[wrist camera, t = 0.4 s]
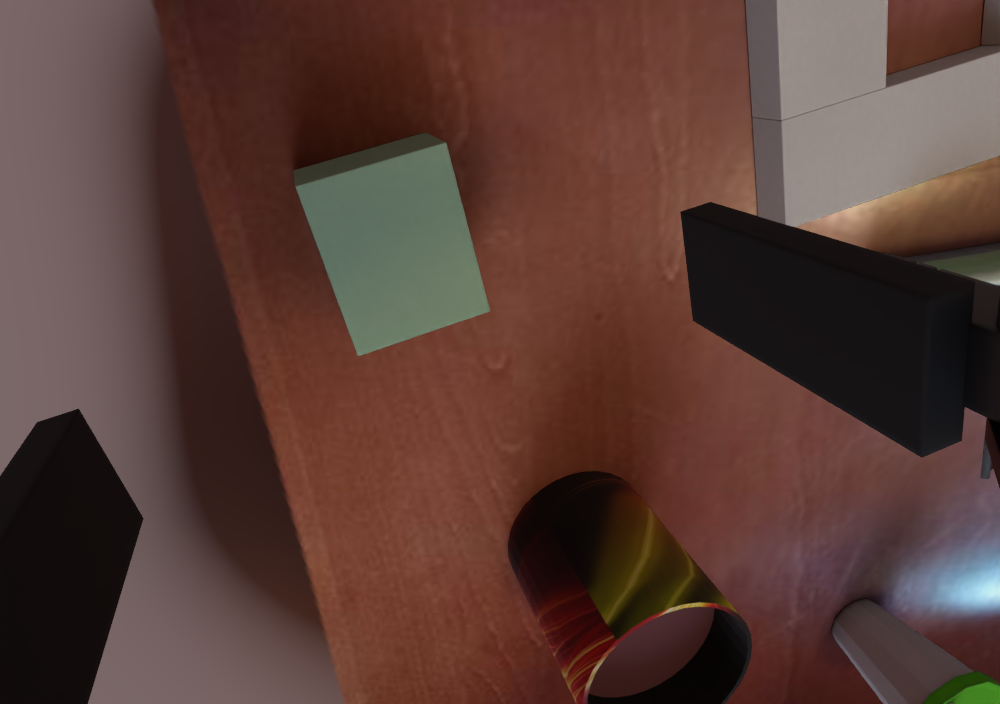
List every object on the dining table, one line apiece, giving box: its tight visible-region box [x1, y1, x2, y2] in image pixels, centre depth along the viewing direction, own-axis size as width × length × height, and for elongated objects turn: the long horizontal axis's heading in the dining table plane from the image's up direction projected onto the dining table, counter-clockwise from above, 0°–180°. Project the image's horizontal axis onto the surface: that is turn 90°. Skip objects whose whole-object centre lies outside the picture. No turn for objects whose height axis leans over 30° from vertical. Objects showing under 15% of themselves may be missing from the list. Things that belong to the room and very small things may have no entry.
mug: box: [508, 472, 752, 704], centre depth 41 cm, size 10×14×12 cm
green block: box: [293, 133, 490, 356], centre depth 32 cm, size 8×6×4 cm
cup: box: [831, 599, 1000, 704], centre depth 51 cm, size 8×8×15 cm
